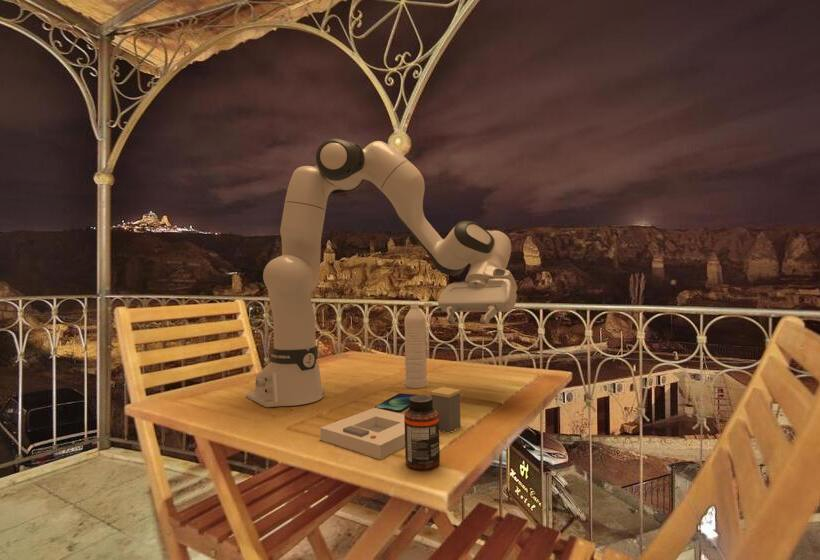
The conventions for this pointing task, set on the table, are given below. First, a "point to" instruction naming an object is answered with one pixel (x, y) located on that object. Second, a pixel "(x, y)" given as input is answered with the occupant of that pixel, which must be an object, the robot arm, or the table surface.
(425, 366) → the water bottle
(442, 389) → the plug
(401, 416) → the socket plate
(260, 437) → the table surface
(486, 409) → the table surface
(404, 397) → the smartphone
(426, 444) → the supplement bottle
